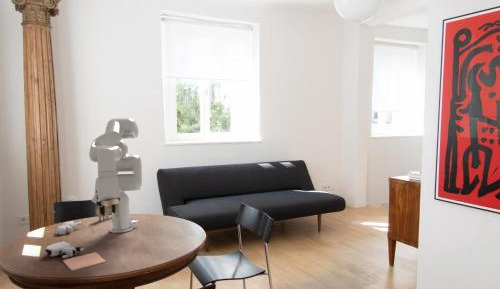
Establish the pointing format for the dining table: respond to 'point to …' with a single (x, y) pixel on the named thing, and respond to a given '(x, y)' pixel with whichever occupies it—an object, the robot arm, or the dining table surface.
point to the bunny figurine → (66, 227)
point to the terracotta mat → (84, 261)
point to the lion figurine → (100, 216)
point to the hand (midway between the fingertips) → (108, 213)
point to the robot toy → (62, 249)
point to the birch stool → (109, 207)
